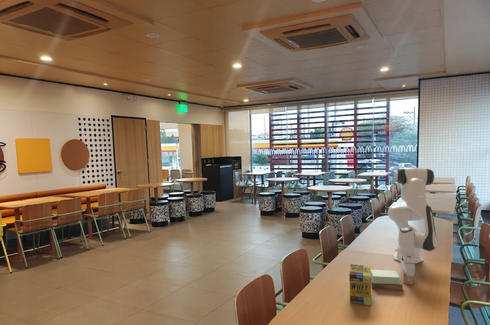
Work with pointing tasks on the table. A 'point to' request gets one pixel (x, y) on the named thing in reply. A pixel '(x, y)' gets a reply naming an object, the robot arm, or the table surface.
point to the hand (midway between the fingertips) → (407, 278)
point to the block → (404, 278)
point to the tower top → (385, 277)
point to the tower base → (386, 286)
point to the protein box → (360, 284)
